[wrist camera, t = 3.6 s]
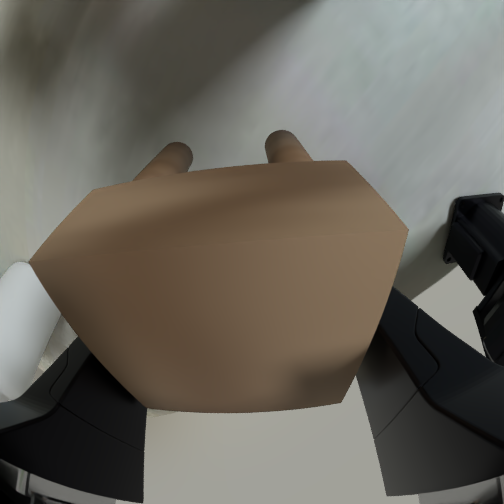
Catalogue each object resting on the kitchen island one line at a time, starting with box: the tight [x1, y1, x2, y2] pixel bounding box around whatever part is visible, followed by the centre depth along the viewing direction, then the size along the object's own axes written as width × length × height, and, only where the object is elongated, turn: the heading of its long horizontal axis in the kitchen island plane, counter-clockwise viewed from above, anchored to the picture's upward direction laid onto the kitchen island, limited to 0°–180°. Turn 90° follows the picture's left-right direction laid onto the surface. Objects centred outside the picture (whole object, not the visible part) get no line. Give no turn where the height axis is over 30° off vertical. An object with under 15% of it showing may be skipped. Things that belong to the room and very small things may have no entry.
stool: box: [29, 130, 409, 413], centre depth 8 cm, size 6×6×7 cm
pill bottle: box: [0, 262, 61, 403], centre depth 16 cm, size 8×8×15 cm
